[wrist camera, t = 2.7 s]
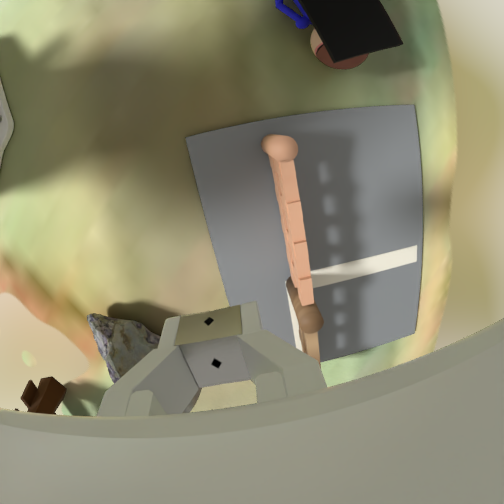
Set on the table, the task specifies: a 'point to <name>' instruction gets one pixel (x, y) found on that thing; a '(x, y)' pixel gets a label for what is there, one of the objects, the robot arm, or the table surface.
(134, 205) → the table surface
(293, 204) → the hinged fence panel
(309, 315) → the fixed fence section
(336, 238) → the card
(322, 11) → the figurine character
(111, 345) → the mineral rock
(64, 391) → the decorative fence
